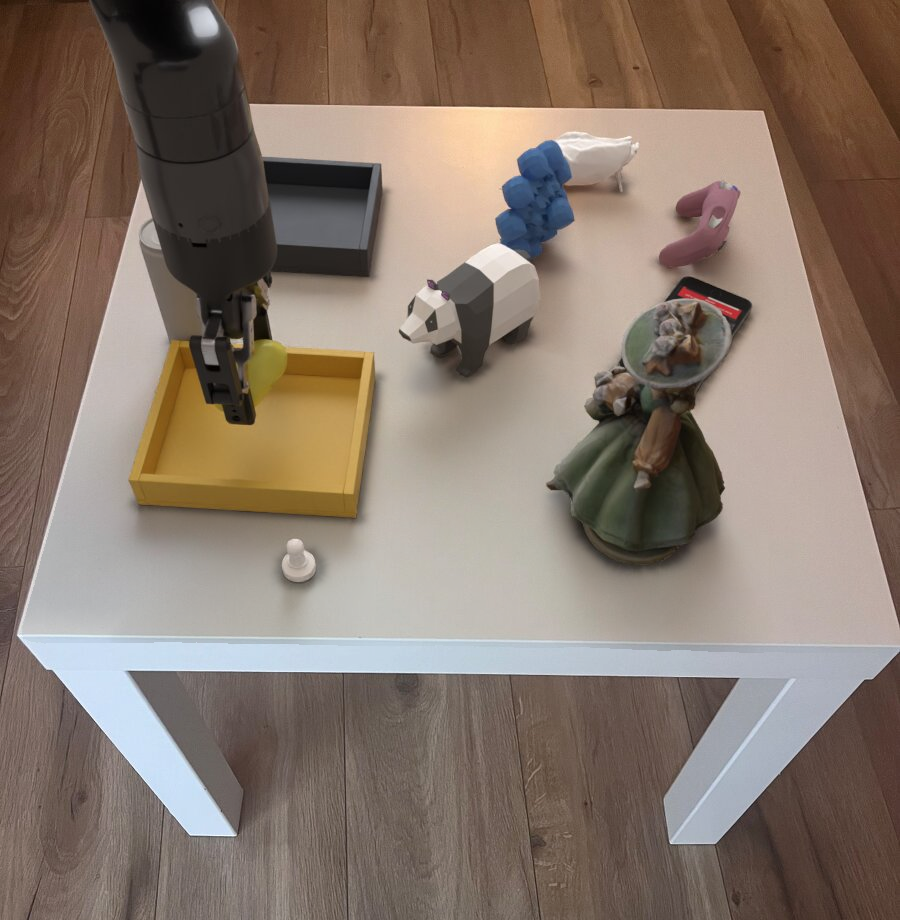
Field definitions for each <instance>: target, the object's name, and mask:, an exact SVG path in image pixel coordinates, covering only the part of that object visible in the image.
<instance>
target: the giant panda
mask: <svg viewBox="0 0 900 920" xmlns="http://www.w3.org/2000/svg"><path fill="white" fill-rule="evenodd" d="M539 278H540V277H539V275H538V273H537V269H536V266H535V265H534V264H533V262H532V260H531V256H530V255H529V254H528V253H527V251H524V250H520V249H514V250H512V249H510V248H508V247H506V246H505V245H503V244H500V242H498V243H497V242H496V243H492V244H490V245H488V246H487V247H485V248H482V249H481V250H479V251H478V252H476V253H475V254H474V255H472V256H471V257H470V258H468V259H467V260H465V261H464V262H463V263H461V264H460V265H459V266H457V267H456V268H455V269H453V270H452V271H450V272H449V273H448V274H447V275H445V276H444V277H442V278H441V279H439V280H438V281H434V280H433V279H429V278H428V279H426V282H427V285H425V286H423V287H422V288H421V289H420V290H419V291H418V292H417V293H416V294H415V295H414V297H413V298H412V300H411V301H410V302H409V304H408V305H407V312H406V319H405V321H404V322H403V324H402V325H401V326H400V327H399V329H398V333H399V335H400V336H401V337H402V339H404V340H407V341H408V342H410V343H412V344H419V343H428V342H429V343H432V344H431V346H430V352H431V353H432V355H434V356H437V357H438V358H441V357H443V356H446V355H448V354H449V353H451V352H453V351H454V350H455V349H456V348H457V347H458V349H459V352H460V353H461V354H460V355H461V358H460V361H459V363H458V365H457V366H456V369H455V371H456V372H457V374H458V375H459V376H461V377H463V378H465V379H466V378H468V377H471V376H472V375H474V374H475V373H477V372H478V371H479V370H480V369H481V368H482V367H483V365H484V360H485V357H486V353H487V351H488V349H489V348H490V346H491V345H492V344H493V343H495V342H497V341H498V340H500V339H501V340H502V341H503V343H504V344H506V345H508V346H510V347H511V346H514V345H516V344H518V343H519V342H521V341H523V340H524V339H525V338H526V337H527V336H528V335H529V329H530V326H531V323H532V321H533V319H534V318H535V315H536V314H537V313H536V312H537V310H538V306H539V303H540V279H539Z"/></svg>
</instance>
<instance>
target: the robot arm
mask: <svg viewBox="0 0 900 920" xmlns="http://www.w3.org/2000/svg"><path fill="white" fill-rule="evenodd" d="M88 1H89V3H90V6H91V8H92V10H93V12H94V15H95V17H96V20H97V22H98V24H99V26H100V29H101V31H102V33H103V36H104V39H105V40H106V44H107V46H108V49H109V52H110V56H111V58H112V60H113V65H114V69H115V73H116V80H117V83H118V88H119V91H120V95H121V99H122V102H123V106H124V110H125V113H126V116H127V120H128V123H129V127H130V130H131V133H132V137H133V141H134V146H135V151H136V157H137V165H138V172H139V176H140V180H141V183H142V184H141V185H142V187H143V191H144V194H145V197H146V201H147V205H148V208H149V211H150V214H151V215H150V216H151V218H153V222H154V225H155V229H156V232H157V236H158V239H159V242H160V246H161V249H162V253H163V256H164V260H165V263H166V266H167V268H168V270H169V272H170V273H171V274H172V276H173V277H174V278H175V279H176V280H178V281H179V282H180V283H182V284H183V285H185V286H187V287H188V288H190V289H191V290H192V291H194V292H195V293H196V310H197V315H198V317H199V318H200V320H201V333H202V336H199V335H192V336H191V338H190V341H189V347H190V351H191V354H192V357H193V361H194V364H195V368H196V371H197V374H198V378H199V381H200V385H201V388H202V391H203V395H204V398H205V402H206V404H222V407H223V411H224V415H225V418H226V421H227V422H228V423H229V424H237V425H253V424H254V423H255V418H256V412H255V408H254V403H253V399H252V394H251V390H250V383H249V375H248V361H249V360H250V359H252V358H253V357H254V341H257V340H261V339H268V340H273V336H272V329H271V324H270V318H269V314H268V310H269V307H270V305H271V301H270V298H269V295H268V292H269V291H268V290H269V289H271V287H272V284H273V276H272V273H271V272H272V271H270V270H271V268H272V267H273V265H274V263H275V261H276V257H277V243H276V237H275V231H274V224H273V218H272V212H271V206H270V200H269V194H268V189H267V182H266V176H265V170H264V163H263V158H262V157H263V155H262V154H263V153H262V151H261V147H260V144H259V141H258V139H257V138H258V137H257V134H256V131H255V128H254V122H253V117H252V111H251V105H250V100H249V93H248V86H247V81H246V76H245V69H244V65H243V61H242V60H243V59H242V56H241V52H240V49H239V46H238V43H237V40H236V37H235V36H234V33H233V31H232V29H231V27H230V25H229V24H228V22H227V20H226V19H225V18H224V16H223V15H222V13H221V11H220V10H219V8H218V6H217V4H215V1H214V0H88ZM241 339H242V344H243V347H242V348H234V346H233V345H232V344H233V343H232V342H231V340H241ZM236 363H237V365H238V371H237V366H236Z"/></svg>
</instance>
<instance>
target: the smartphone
mask: <svg viewBox="0 0 900 920" xmlns="http://www.w3.org/2000/svg"><path fill="white" fill-rule="evenodd" d="M684 298H685V299H697V300H703V301H705V302H707V303H710V304H712V305H714V306H715V307H717V308H718V309H719V310H721V312H722V315H723V316H724V317H725V318H726V320H727V321H728V323H729V324H730V329H731V334H732V338H733V337H734V336H735V334H736V333H737V332H738V331H739V329H740V327H741V326H742V324H743V323H744V321H745V320H746V318H747V317H748V315H749V314H750V313H751V311H752V308H753V303H752V301H750V300H749V299H748V298H745V297H743V296H740V295H738V294H735V293H733V292H731V291H728V290H726V289H723V288H721V287H718V286H716V285H713V284H711V283H709V282H706V281H704V280H701V279H699V278H696V277H694V276H691V275H684V276H683V277H681V278H680V280H679V281H678V282H677V284H676V285H675V287H674V288H673V289H672V291H670V293H669V294H668V295H667V297H666V298H665V299H664V301H663V302H662V303H664V302H667V301H670V300H675V299H684ZM617 366H621V367H624V368H625V366H624V364H623V360H622V357H621V358H620V359H619V360H618V362H617ZM625 369H626V368H625ZM626 371H627V370H626ZM627 373H628V372H627ZM704 380H706V377H705V378H704V379H702V380H700V381H697V386H696V390H695V393H696V392H697V391H698V389H699V388H700V386H701V385H702V383H703V382H704Z"/></svg>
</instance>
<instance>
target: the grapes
mask: <svg viewBox="0 0 900 920" xmlns="http://www.w3.org/2000/svg"><path fill="white" fill-rule="evenodd" d="M516 163H517V168H518V171H519V174H520V175H515V176H512V177H511V178H510V179H508V180H507V181H506V182H504V184H502V185H501V192H502V197H503V200H504V202H505V203H506V205H507V207H508V208H507V209H506V210H504V211H502V212H500V213H499V214H498V215H497V216H496V217H495V218H494V220H495V226H496V229H497V234H498V235H499V236H500V237H499V243H500V244H503V245H505V246H506V247H508V248H510V249H512V250H514V249H520V250H524V251H527V253H528V254H529V255H530V256H531V261H532V260H534V259H535V258H538V257H539V256H540V255H541V254H542V253H544V251H543V245H542V243H547V242H548V241H550V240H551V239H553V238H554V237H555V236H557V235H558V231H560V230H563V229H565V228H567V227H568V226H570V225H571V224H573V223H574V222H575V221H576V220H575V214H574V210H573V207H572V206H571V204H570V202H569V198H568V194H567V192H566V190H565V188H564V186H563V185H564V183H566V182H567V181H569V180H570V179H571V178H572V174H571V169H570V165H569V163H568V162H567V160H566V158H565V157H563V153H562V150H561V148H560V146H559V145H558V143H557V142H555V140H553V139H550V140H549V139H548V140H544V141H542V142H541V143H540V144H538V145H537V146H536V147H531V148H529V149H527V150H525V151H524V152H523V153H522V154H520V155H519V156H518V157H517V158H516Z"/></svg>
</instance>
